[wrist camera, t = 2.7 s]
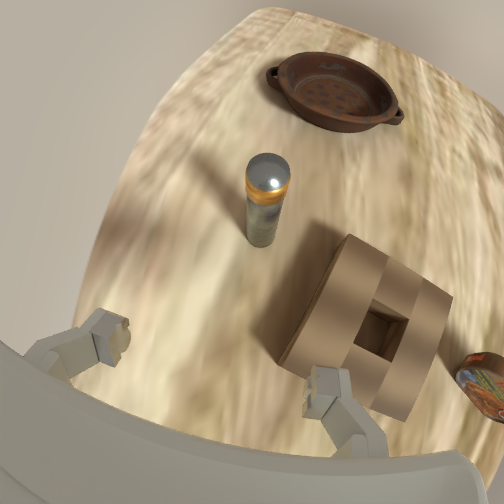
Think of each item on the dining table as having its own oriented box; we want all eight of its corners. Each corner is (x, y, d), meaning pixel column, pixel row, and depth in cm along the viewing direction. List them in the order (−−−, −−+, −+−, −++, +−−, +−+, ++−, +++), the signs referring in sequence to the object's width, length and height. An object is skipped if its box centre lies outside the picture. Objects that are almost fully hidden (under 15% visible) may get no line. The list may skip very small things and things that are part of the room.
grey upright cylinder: (266, 253, 30) (278, 196, 19) (240, 239, 30) (236, 175, 19) (280, 229, 31) (298, 163, 20) (255, 216, 31) (259, 145, 20)
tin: (444, 370, 26) (491, 369, 18) (456, 349, 27) (503, 343, 19) (490, 424, 23) (530, 429, 15) (500, 405, 23) (540, 407, 15)
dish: (398, 168, 35) (414, 147, 30) (247, 121, 37) (247, 94, 32) (396, 97, 40) (405, 77, 36) (277, 60, 42) (279, 39, 37)
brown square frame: (387, 415, 24) (404, 422, 21) (276, 364, 26) (281, 367, 23) (433, 303, 28) (453, 297, 25) (337, 247, 30) (349, 233, 27)
